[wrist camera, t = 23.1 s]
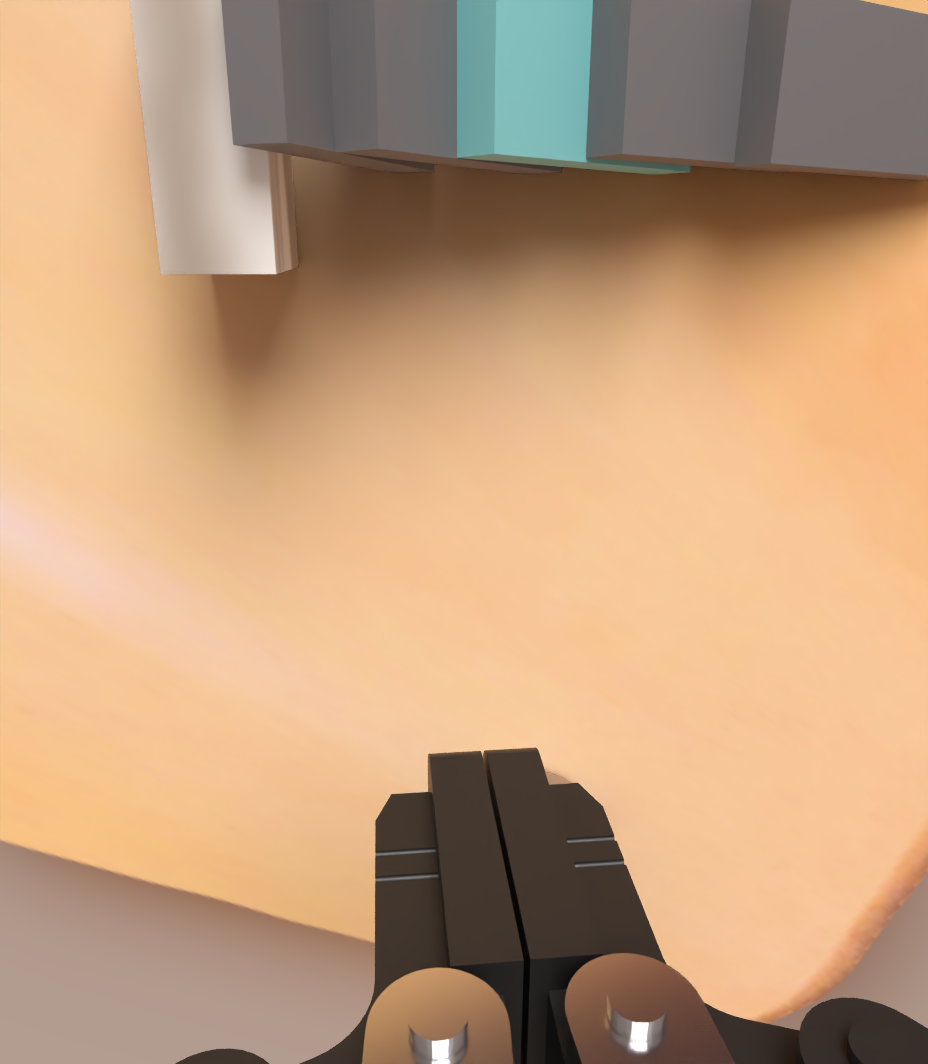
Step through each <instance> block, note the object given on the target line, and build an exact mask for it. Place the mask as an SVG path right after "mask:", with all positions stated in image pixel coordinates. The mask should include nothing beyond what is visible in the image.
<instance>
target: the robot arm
mask: <svg viewBox="0 0 928 1064" xmlns="http://www.w3.org/2000/svg"><path fill="white" fill-rule="evenodd" d="M375 852H376V857H375V881H376V883H375V986H374V993H373V997H372V1000H371V1003H370V1006H369V1008H368V1010H367V1012H366V1014H365V1015H364V1017H363V1018H362V1020H361V1022H360V1023H359V1024H358V1026H357V1027H356V1028H355V1029H354V1030H353V1031H352V1032H351V1034H350V1035H349V1036H347V1037H346V1038H345V1039H344V1040H343V1041H342V1042H340V1043H339V1044H338V1045H336V1046H335V1047H333V1048H332V1049H330V1050H329V1051H327V1052H325V1053H323V1054H321V1055H319V1056H317V1057H315V1058H313V1059H310V1060H308V1061H305V1062H303V1063H300V1064H928V1028H926V1027H924V1026H923V1025H921V1024H919V1023H918V1022H916V1021H914V1020H913V1019H911V1018H909V1017H908V1016H906V1015H904V1014H902V1013H900V1012H898V1011H897V1010H895V1009H892V1008H890V1007H887V1006H885V1005H883V1004H879V1003H876V1002H873V1001H869V1000H864V999H858V998H837V999H831V1000H828V1001H825V1002H822V1003H820V1004H818V1005H817V1006H815V1007H813V1008H812V1009H811V1010H810V1011H809V1012H808V1013H807V1014H806V1016H805V1018H804V1020H803V1021H802V1024H801V1028H800V1031H799V1030H794V1029H789V1028H785V1027H780V1026H775V1025H770V1024H766V1023H761V1022H756V1021H751V1020H747V1019H743V1018H739V1017H735V1016H732V1015H729V1014H727V1013H724V1012H722V1011H719V1010H717V1009H715V1008H713V1007H711V1006H710V1005H708V1004H706V1003H704V1002H703V1000H702V999H701V997H700V995H699V994H698V992H697V990H696V989H695V988H694V987H693V986H692V984H691V983H690V982H689V981H688V980H687V979H686V978H685V977H684V976H682V975H681V974H680V973H679V972H678V971H676V970H675V969H673V968H672V967H670V966H668V965H666V962H665V960H664V958H663V956H662V954H661V951H660V949H659V946H658V944H657V941H656V939H655V936H654V934H653V931H652V929H651V926H650V924H649V921H648V919H647V916H646V914H645V911H644V909H643V906H642V904H641V901H640V899H639V896H638V894H637V891H636V889H635V886H634V884H633V881H632V879H631V876H630V874H629V871H628V869H627V866H626V865H624V859H623V856H622V854H621V851H620V849H619V846H618V844H617V841H615V840H614V833H613V831H612V828H611V826H610V823H609V821H608V818H607V816H606V813H605V811H604V808H603V806H602V805H601V804H600V803H599V802H597V801H596V800H595V799H594V798H593V797H592V796H591V795H590V794H589V793H588V792H587V791H586V790H585V789H584V788H583V787H582V786H581V785H580V784H579V783H570V782H569V781H567V780H566V779H564V778H562V777H560V776H557V775H554V774H552V773H549V772H545V770H544V767H543V763H542V760H541V757H540V754H539V751H538V749H537V748H522V749H504V750H486V751H484V753H483V757H482V753H481V751H472V752H454V753H436V754H428V792H422V793H405V794H391V796H390V798H389V799H388V801H387V803H386V804H385V806H384V808H383V809H382V811H381V813H380V814H379V816H378V818H377V819H376V844H375ZM176 1064H269V1063H268V1062H266V1061H265V1060H264V1059H262V1058H261V1057H259V1056H257V1055H255V1054H253V1053H250V1052H246V1051H243V1050H237V1049H216V1050H210V1051H205V1052H201V1053H198V1054H195V1055H192V1056H190V1057H187V1058H185V1059H184V1060H181V1061H179V1062H177V1063H176Z"/></svg>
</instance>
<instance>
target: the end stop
mask: <svg viewBox="0 0 928 1064" xmlns="http://www.w3.org/2000/svg"><path fill="white" fill-rule="evenodd" d="M130 8H131V17H132V26H133V34H134V43H135V52H136V61H137V70H138V78H139V87H140V96H141V105H142V114H143V122H144V131H145V140H146V149H147V158H148V166H149V175H150V184H151V193H152V202H153V210H154V219H155V228H156V237H157V246H158V254H159V263H160V272H161V274H278V273H281V272H284V271H288V270H291V269H294V268H297V267H299V265H298V249H297V233H296V216H295V200H294V183H293V167H292V155H288V154H282V153H277V152H271V151H265V150H260V149H254V148H248V147H242V146H237V145H233V138H232V126H231V114H230V101H229V89H228V77H227V65H226V53H225V41H224V29H223V16H222V4H221V0H130Z"/></svg>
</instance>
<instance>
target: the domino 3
mask: <svg viewBox="0 0 928 1064" xmlns="http://www.w3.org/2000/svg"><path fill="white" fill-rule="evenodd" d="M592 10H593V0H457V158H465V159H477V160H489V161H500V162H512V163H524V164H535V165H547V166H558V167H570V168H582V169H593V170H605V171H617V172H628V173H640V174H651V175H656V174H670V173H685V172H690V170H691V166H687V165H673V164H660V163H647V162H633V161H620V160H607V159H593V158H586V141H587V120H588V98H589V76H590V54H591V32H592Z"/></svg>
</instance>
